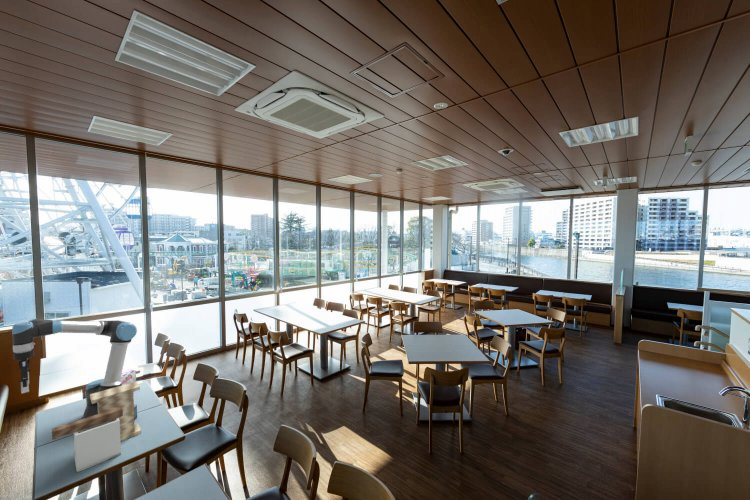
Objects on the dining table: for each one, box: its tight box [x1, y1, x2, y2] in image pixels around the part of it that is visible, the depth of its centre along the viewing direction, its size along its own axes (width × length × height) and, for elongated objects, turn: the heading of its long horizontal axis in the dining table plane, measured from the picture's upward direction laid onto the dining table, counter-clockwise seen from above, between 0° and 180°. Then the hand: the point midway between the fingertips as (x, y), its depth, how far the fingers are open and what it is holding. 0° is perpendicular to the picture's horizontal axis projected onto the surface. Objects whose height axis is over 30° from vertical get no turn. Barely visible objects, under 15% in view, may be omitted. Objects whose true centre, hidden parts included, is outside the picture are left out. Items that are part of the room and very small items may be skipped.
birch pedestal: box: [90, 381, 142, 442], centre depth 186 cm, size 22×10×30 cm, turn 138°
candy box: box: [120, 369, 137, 385], centre depth 239 cm, size 14×6×16 cm, turn 168°
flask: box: [134, 403, 138, 422], centre depth 205 cm, size 9×3×11 cm, turn 8°
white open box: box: [73, 417, 122, 473], centre depth 170 cm, size 18×12×20 cm, turn 138°
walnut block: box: [51, 407, 123, 440], centre depth 167 cm, size 28×4×4 cm, turn 138°
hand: (25, 388), depth 170 cm, fingers open, 13 cm apart
